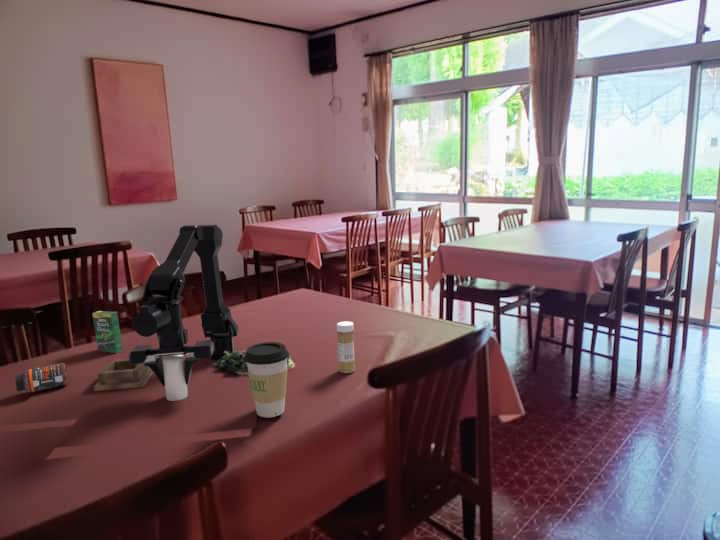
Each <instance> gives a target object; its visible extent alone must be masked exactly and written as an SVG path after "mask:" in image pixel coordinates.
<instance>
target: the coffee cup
mask: <svg viewBox="0 0 720 540" xmlns="http://www.w3.org/2000/svg"><path fill="white" fill-rule="evenodd" d="M245 352H246V354H244V355H245V357H244V360H245V361H246V362H247V366H248V375H249V376H248V375H247V376H248V379H249V384H250V389H251V394H252V399H253V402H254V405H255V406H254V407H255V410H256V415H258V416H259V417H262V418H274V417H277V416H281V415H282V414H283V413H284V412H285V406H286V405H285V404H286V403H285V402H286V395H287V376H288V372H287V358H288V356H290V355H289V350H288V349H287V347H286V345H285V344H284V343H281V342H278V341H277V342H276V341H266V342H260V343H255V344H253V345H251V346H248V347H247V349H246V351H245Z"/></svg>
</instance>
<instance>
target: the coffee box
mask: <svg viewBox="0 0 720 540" xmlns="http://www.w3.org/2000/svg"><path fill="white" fill-rule="evenodd" d="M92 319H93V328H94V332H95V338H96V345H97V351H98V352H101V351H103V353H107V352H110V353H109V354H114V353H117V354H119V353H121V352H123V351H122V350H124V349H123V344H122V343H123V342H122V336H121V330H120V328H121V327H120V323H119V315H118V311H107V310H106V311H104V310H97V311H95V312H92ZM120 351H121V352H120ZM118 352H119V353H118Z"/></svg>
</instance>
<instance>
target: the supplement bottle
mask: <svg viewBox="0 0 720 540" xmlns="http://www.w3.org/2000/svg"><path fill="white" fill-rule="evenodd" d="M68 383H69V380H68V372H67V366H66V364H65V363H64V362H60V363H56V364H50V365H45V366H40V367H35V368H30V369H27V370H25V371H24V372H23V373H22V374H19V375H15V376H14V385H15V391H16V392H22V391H26V392H28V393H36V392H41V391H45V390H50V389H55V388H58V387H63V386H66V385H68Z"/></svg>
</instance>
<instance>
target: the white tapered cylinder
mask: <svg viewBox="0 0 720 540" xmlns="http://www.w3.org/2000/svg"><path fill="white" fill-rule="evenodd" d="M185 360H186V359H185V354H182V355H169V356H163V357H162V363H163V371H164V380H165V386H164V389H165V396H166V400H167V401H170V402H177V401H180V400H184V399H186V398H188V396H189V393H188V392H189V391H188V384H187V385H186V381H185Z"/></svg>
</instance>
